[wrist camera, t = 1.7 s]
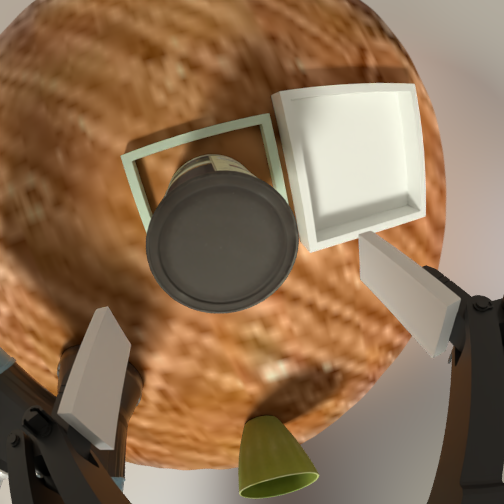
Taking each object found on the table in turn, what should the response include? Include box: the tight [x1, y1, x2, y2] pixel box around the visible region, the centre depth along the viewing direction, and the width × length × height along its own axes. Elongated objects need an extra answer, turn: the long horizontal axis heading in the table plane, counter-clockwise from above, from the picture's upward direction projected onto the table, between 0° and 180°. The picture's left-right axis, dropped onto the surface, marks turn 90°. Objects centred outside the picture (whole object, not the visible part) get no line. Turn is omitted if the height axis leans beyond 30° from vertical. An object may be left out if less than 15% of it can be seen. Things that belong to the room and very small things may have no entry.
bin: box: [271, 83, 426, 253], centre depth 30 cm, size 18×18×4 cm
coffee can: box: [146, 154, 299, 313], centre depth 25 cm, size 10×10×14 cm
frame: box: [121, 113, 289, 233], centre depth 30 cm, size 16×16×2 cm
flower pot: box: [238, 415, 319, 498], centre depth 44 cm, size 15×15×16 cm
